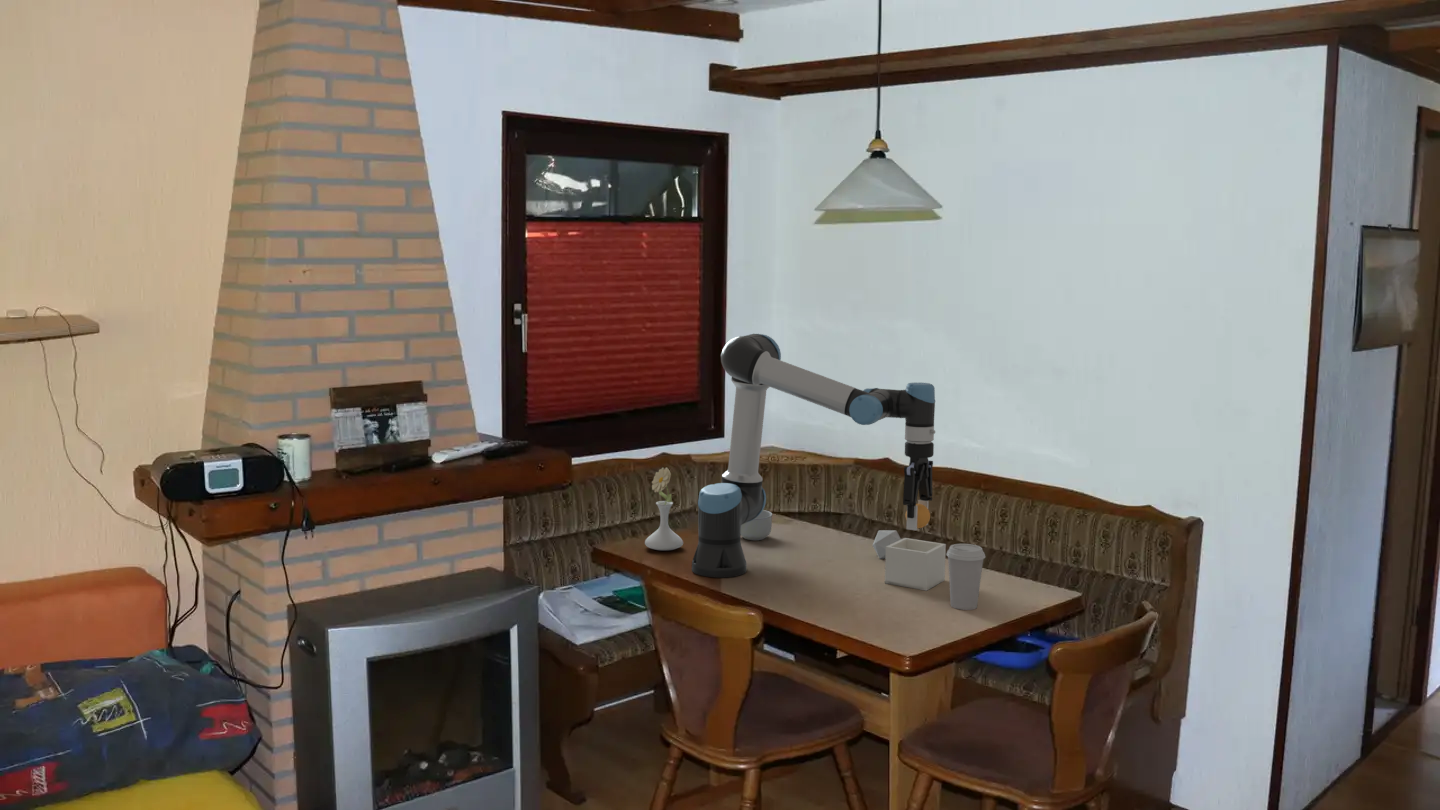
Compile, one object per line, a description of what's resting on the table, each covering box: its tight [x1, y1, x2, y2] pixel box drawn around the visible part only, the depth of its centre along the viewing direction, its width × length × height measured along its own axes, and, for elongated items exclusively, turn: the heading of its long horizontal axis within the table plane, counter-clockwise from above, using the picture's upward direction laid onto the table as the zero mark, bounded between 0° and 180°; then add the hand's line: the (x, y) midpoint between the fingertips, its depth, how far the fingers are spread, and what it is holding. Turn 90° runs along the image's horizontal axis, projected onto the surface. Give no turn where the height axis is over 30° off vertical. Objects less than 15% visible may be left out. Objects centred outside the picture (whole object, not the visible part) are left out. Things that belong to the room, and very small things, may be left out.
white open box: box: [884, 537, 947, 592], centre depth 314 cm, size 12×12×10 cm
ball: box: [904, 503, 931, 529], centre depth 312 cm, size 6×6×6 cm
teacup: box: [741, 509, 773, 541], centre depth 361 cm, size 14×11×8 cm
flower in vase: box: [644, 467, 684, 551], centre depth 344 cm, size 13×11×25 cm
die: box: [872, 529, 902, 560], centre depth 339 cm, size 8×9×10 cm
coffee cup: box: [945, 543, 986, 611], centre depth 292 cm, size 10×10×15 cm
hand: (917, 526), depth 312 cm, fingers closed on ball, 6 cm apart
